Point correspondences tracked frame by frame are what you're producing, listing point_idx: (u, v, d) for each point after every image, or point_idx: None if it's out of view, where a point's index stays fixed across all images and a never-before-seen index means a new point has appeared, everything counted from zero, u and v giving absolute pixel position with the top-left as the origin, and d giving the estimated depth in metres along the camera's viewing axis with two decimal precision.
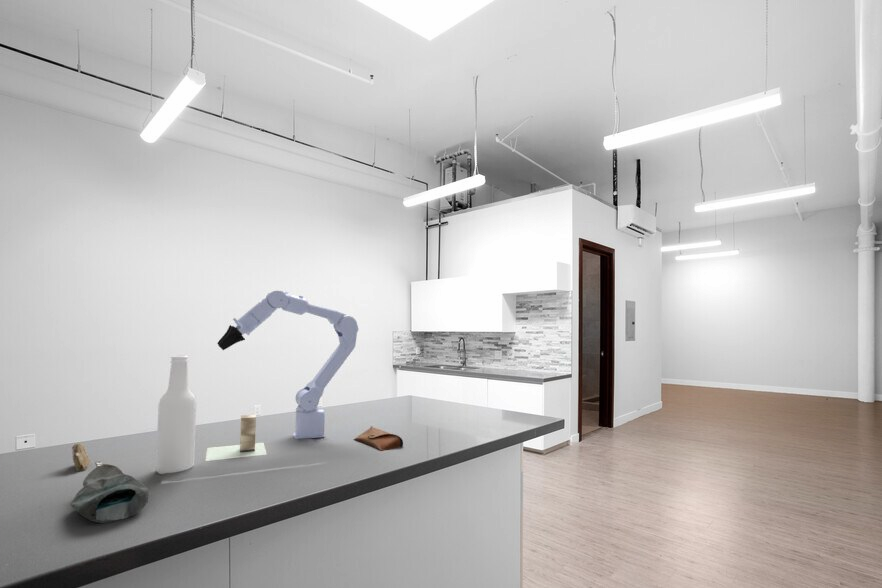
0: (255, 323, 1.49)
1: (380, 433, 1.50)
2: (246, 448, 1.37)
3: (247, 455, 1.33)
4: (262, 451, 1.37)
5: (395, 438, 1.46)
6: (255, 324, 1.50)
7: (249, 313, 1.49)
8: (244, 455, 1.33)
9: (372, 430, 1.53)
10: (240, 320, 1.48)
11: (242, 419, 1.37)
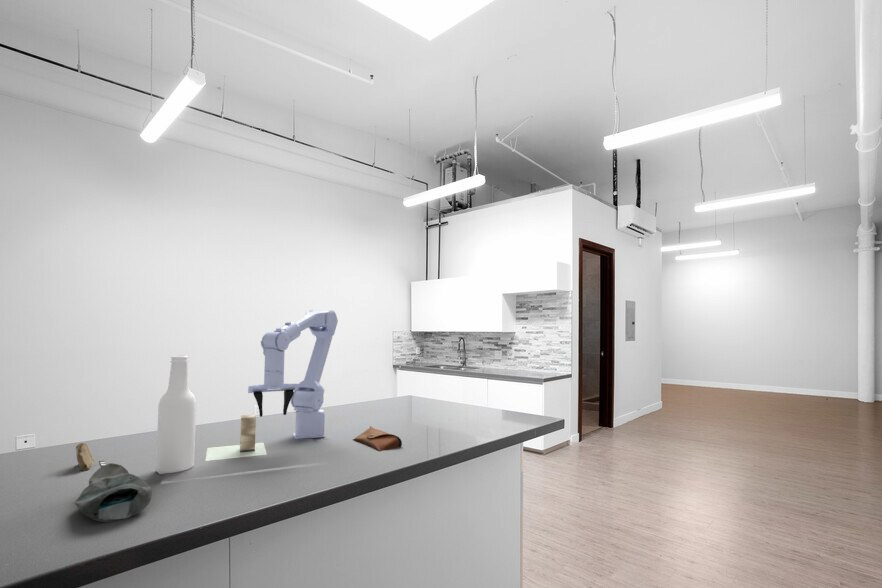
0: None
1: (379, 433, 1.49)
2: (246, 448, 1.37)
3: (247, 455, 1.33)
4: (262, 451, 1.37)
5: (394, 438, 1.46)
6: None
7: (280, 372, 1.42)
8: (244, 455, 1.33)
9: (371, 430, 1.53)
10: (280, 383, 1.41)
11: (242, 419, 1.37)
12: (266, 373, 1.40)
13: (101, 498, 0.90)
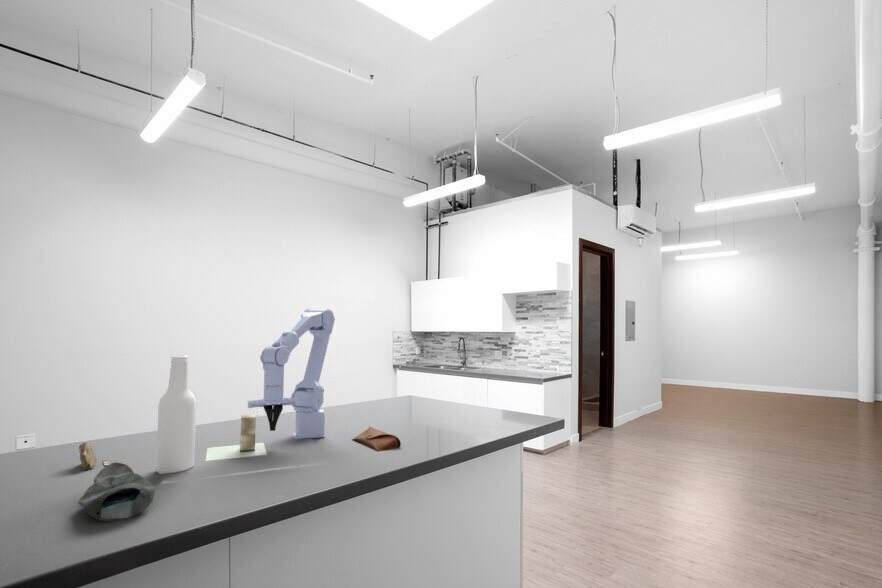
0: None
1: (378, 433, 1.49)
2: (246, 448, 1.37)
3: (247, 455, 1.33)
4: (262, 451, 1.37)
5: (393, 438, 1.45)
6: None
7: (280, 386, 1.41)
8: (244, 455, 1.33)
9: (370, 430, 1.52)
10: (279, 398, 1.41)
11: (242, 419, 1.37)
12: (266, 388, 1.40)
13: (103, 497, 0.90)
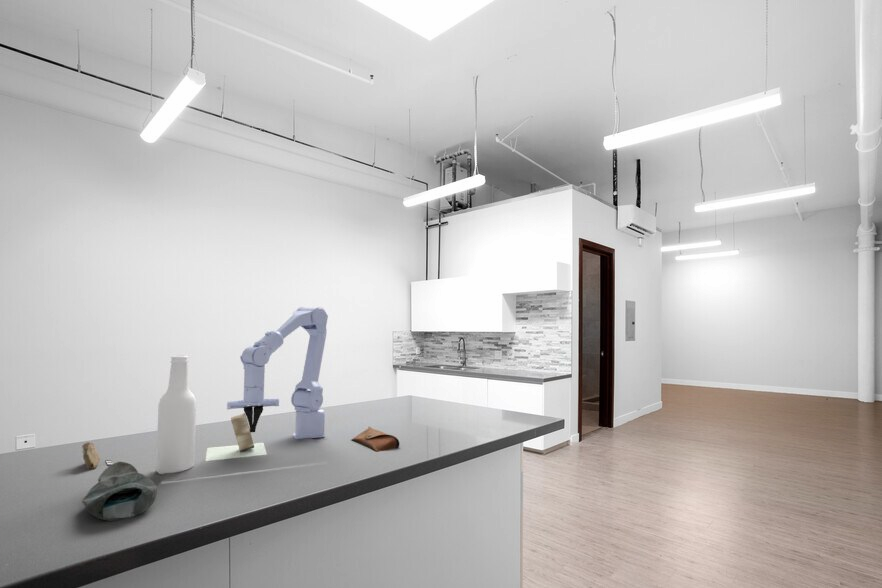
0: None
1: (377, 433, 1.49)
2: (245, 447, 1.37)
3: (247, 455, 1.33)
4: (262, 451, 1.37)
5: (391, 438, 1.45)
6: None
7: (260, 387, 1.39)
8: (244, 455, 1.33)
9: (369, 430, 1.52)
10: (259, 399, 1.39)
11: (232, 421, 1.36)
12: (245, 389, 1.38)
13: (105, 497, 0.90)
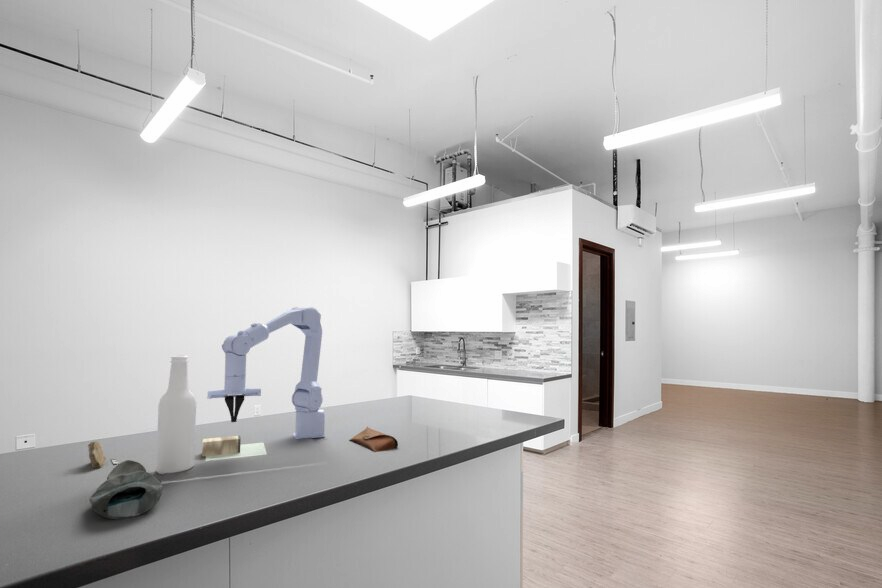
0: None
1: (375, 434, 1.49)
2: (236, 447, 1.36)
3: (247, 455, 1.33)
4: (262, 451, 1.37)
5: (390, 439, 1.45)
6: None
7: (241, 377, 1.37)
8: (244, 455, 1.33)
9: (367, 431, 1.52)
10: (240, 388, 1.37)
11: (203, 455, 1.32)
12: (226, 378, 1.36)
13: (110, 495, 0.91)
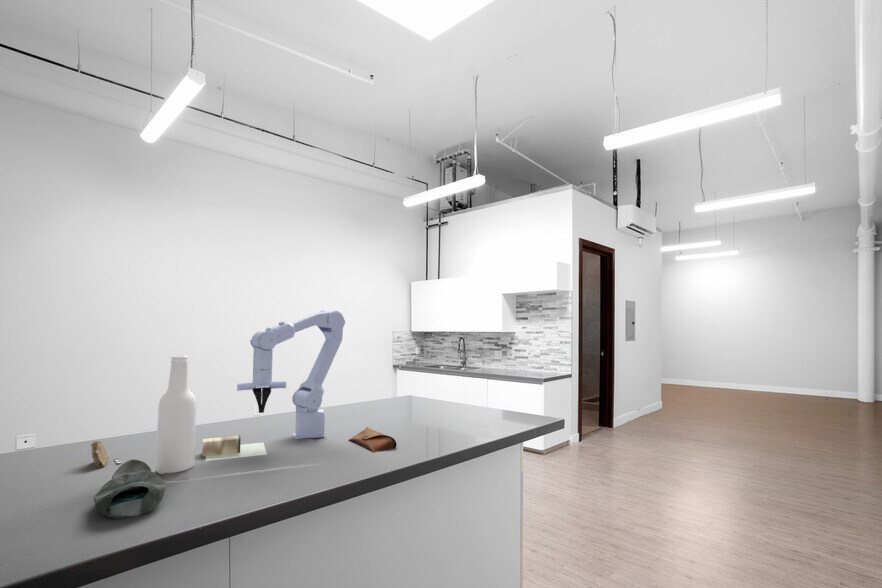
0: None
1: (374, 434, 1.48)
2: (236, 447, 1.36)
3: (247, 455, 1.33)
4: (262, 451, 1.37)
5: (388, 439, 1.44)
6: None
7: (268, 370, 1.46)
8: (244, 455, 1.33)
9: (367, 431, 1.52)
10: (268, 381, 1.45)
11: (203, 455, 1.32)
12: (254, 371, 1.45)
13: (113, 495, 0.92)
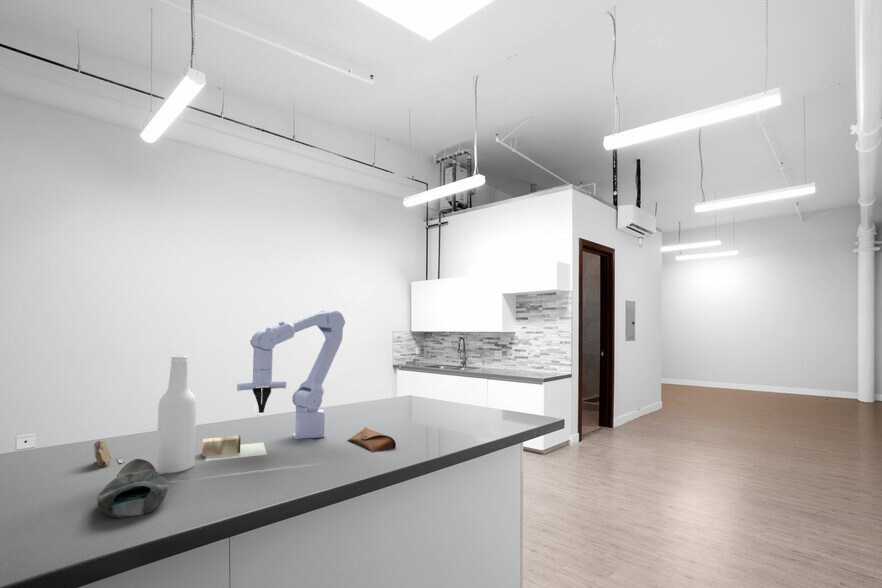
0: None
1: (373, 434, 1.48)
2: (236, 447, 1.36)
3: (247, 455, 1.33)
4: (262, 451, 1.37)
5: (388, 439, 1.44)
6: None
7: (268, 370, 1.46)
8: (244, 455, 1.33)
9: (365, 431, 1.51)
10: (268, 381, 1.45)
11: (203, 455, 1.32)
12: (254, 371, 1.45)
13: (115, 494, 0.92)
